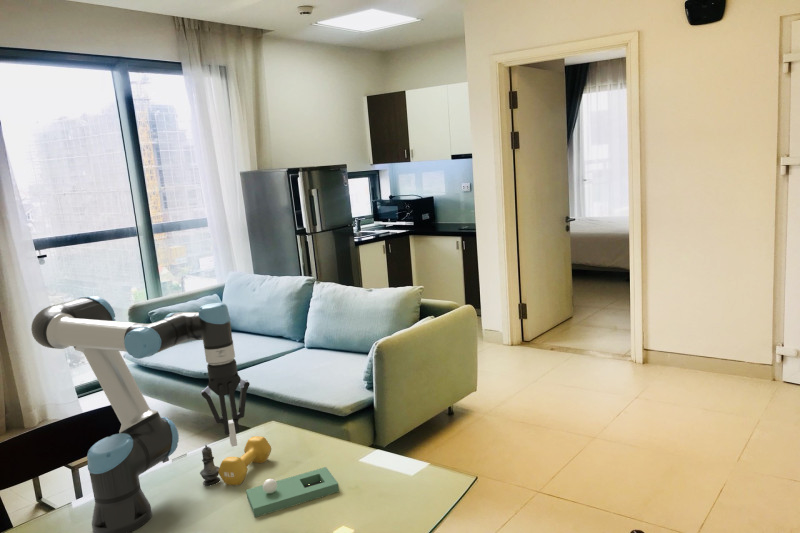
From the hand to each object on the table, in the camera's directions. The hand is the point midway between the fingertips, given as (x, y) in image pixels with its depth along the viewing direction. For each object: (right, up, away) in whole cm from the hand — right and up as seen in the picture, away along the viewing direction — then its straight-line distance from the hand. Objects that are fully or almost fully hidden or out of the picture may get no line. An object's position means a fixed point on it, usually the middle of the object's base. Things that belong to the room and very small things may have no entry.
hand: (233, 444), depth 168 cm
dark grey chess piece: (-13, -18, +22) cm, 31 cm away
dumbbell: (-3, -16, +26) cm, 31 cm away
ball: (+9, -13, +5) cm, 17 cm away
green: (+15, -17, +8) cm, 24 cm away
